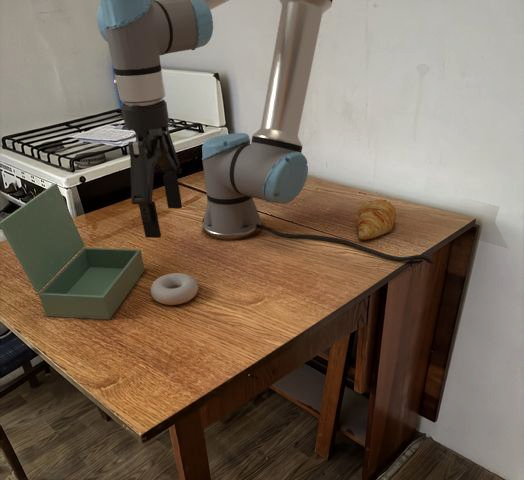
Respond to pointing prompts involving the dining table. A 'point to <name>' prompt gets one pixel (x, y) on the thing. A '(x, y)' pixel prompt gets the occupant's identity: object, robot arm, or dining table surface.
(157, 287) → the donut
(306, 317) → the dining table surface
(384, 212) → the croissant
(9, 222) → the green box lid
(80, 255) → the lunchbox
